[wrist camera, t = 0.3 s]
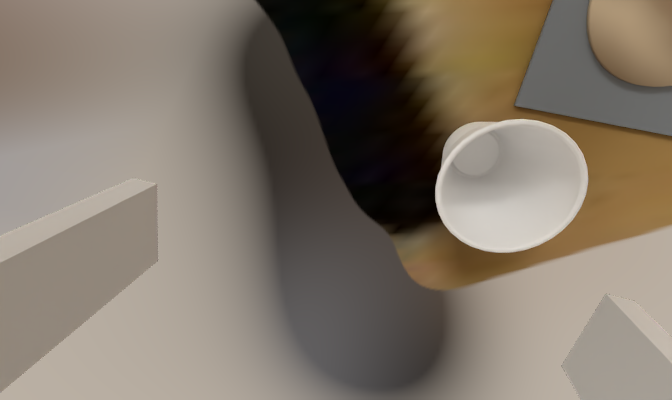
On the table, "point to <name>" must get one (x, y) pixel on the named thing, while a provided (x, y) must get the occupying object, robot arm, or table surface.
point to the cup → (509, 184)
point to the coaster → (633, 39)
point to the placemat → (586, 78)
